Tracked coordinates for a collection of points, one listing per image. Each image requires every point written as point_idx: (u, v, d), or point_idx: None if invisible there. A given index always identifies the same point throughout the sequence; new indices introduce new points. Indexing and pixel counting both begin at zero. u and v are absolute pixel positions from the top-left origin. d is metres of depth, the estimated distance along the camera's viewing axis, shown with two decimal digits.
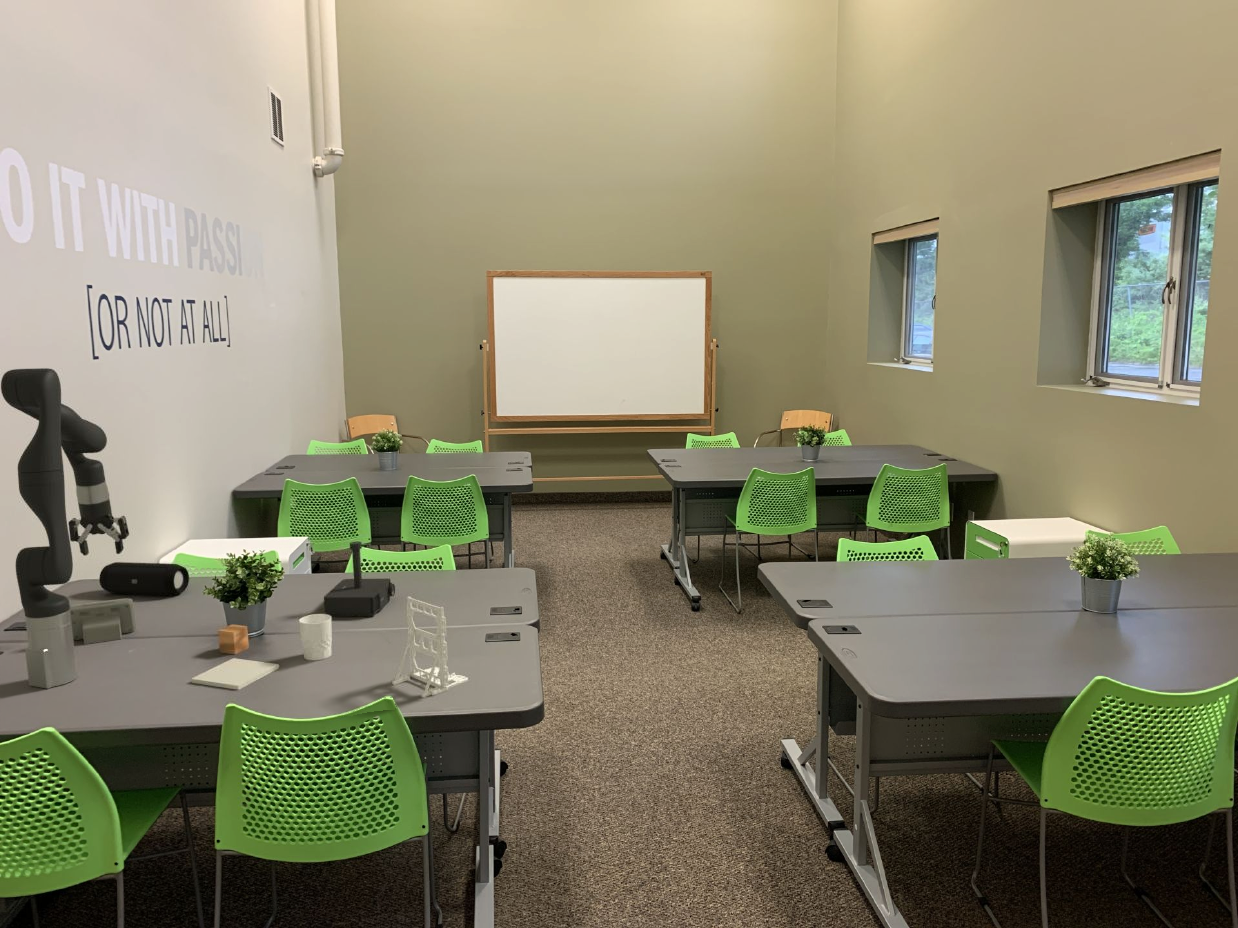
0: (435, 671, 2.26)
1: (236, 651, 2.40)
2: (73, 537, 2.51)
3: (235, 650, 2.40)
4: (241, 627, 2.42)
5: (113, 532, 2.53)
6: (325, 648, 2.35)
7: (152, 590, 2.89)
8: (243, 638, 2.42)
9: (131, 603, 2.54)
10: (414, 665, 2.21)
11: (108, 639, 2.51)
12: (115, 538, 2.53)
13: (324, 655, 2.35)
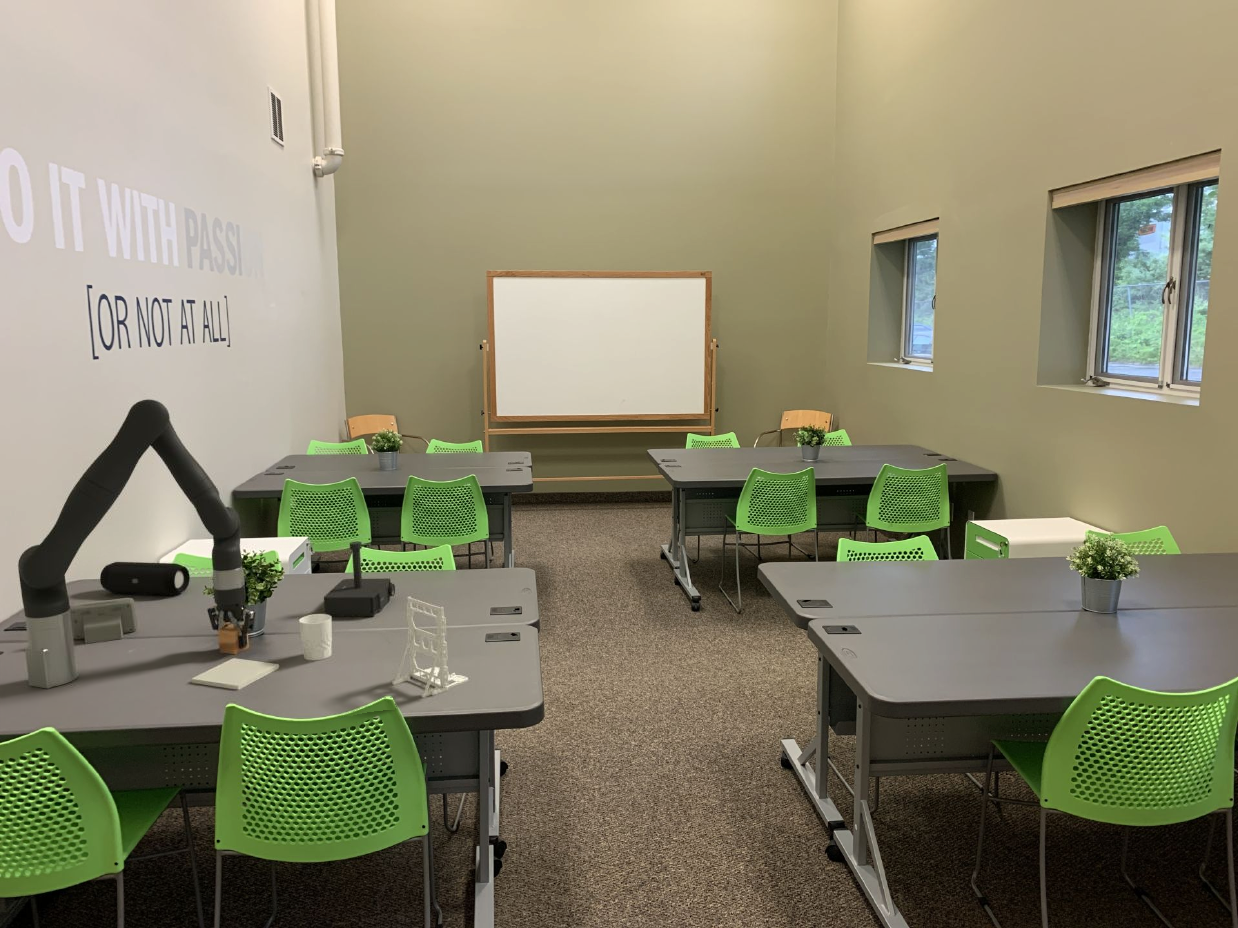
0: (435, 671, 2.26)
1: (236, 651, 2.40)
2: (214, 625, 2.42)
3: (235, 650, 2.40)
4: (241, 627, 2.42)
5: (239, 625, 2.40)
6: (325, 648, 2.35)
7: (153, 589, 2.89)
8: None
9: (132, 603, 2.54)
10: (414, 665, 2.21)
11: (109, 638, 2.51)
12: (238, 631, 2.40)
13: (324, 655, 2.35)
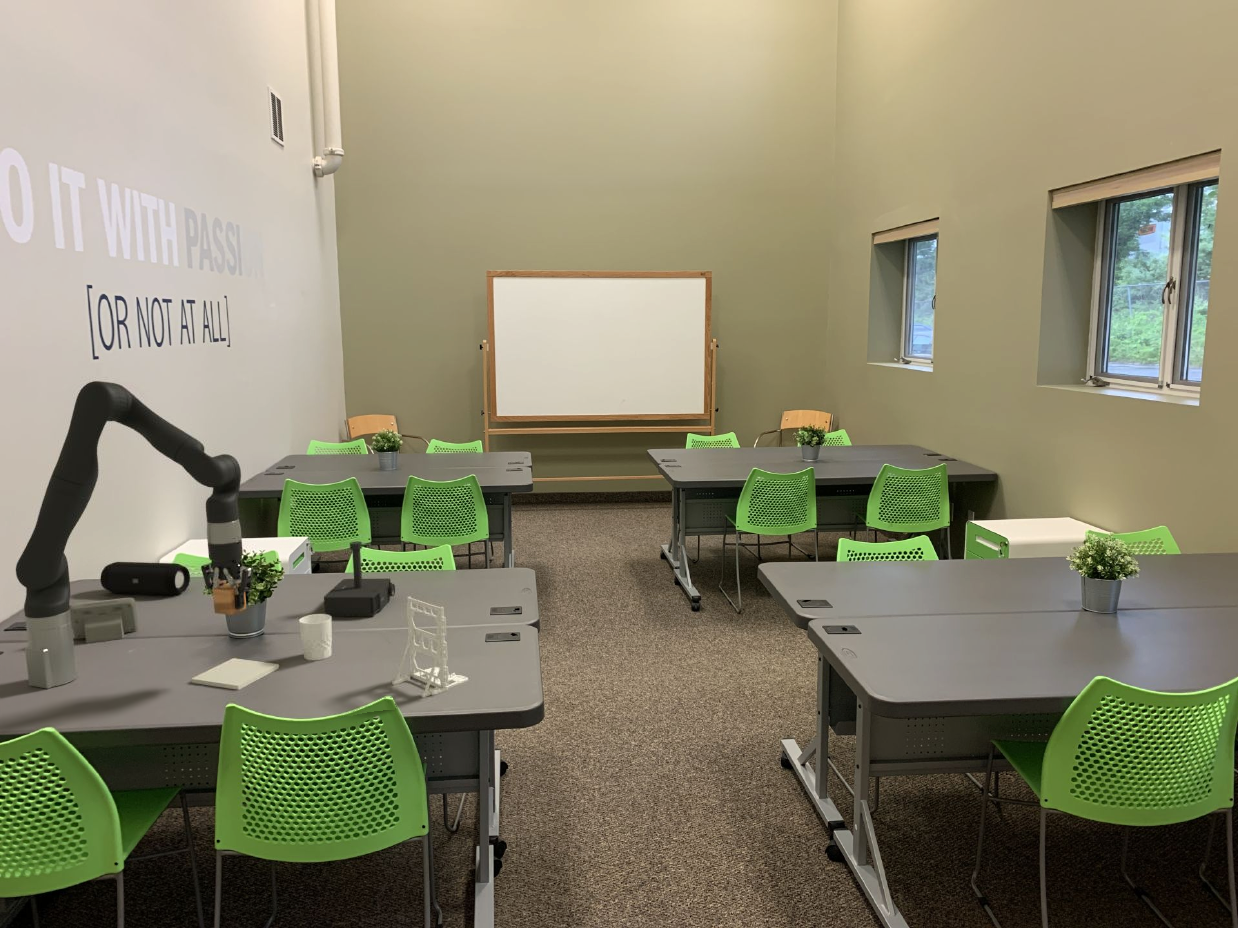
0: (435, 671, 2.26)
1: (232, 611, 2.20)
2: (209, 584, 2.22)
3: (231, 610, 2.20)
4: (238, 586, 2.23)
5: (235, 583, 2.20)
6: (325, 648, 2.35)
7: (153, 589, 2.89)
8: None
9: (133, 602, 2.54)
10: (414, 665, 2.21)
11: (110, 638, 2.51)
12: (234, 590, 2.20)
13: (324, 655, 2.35)
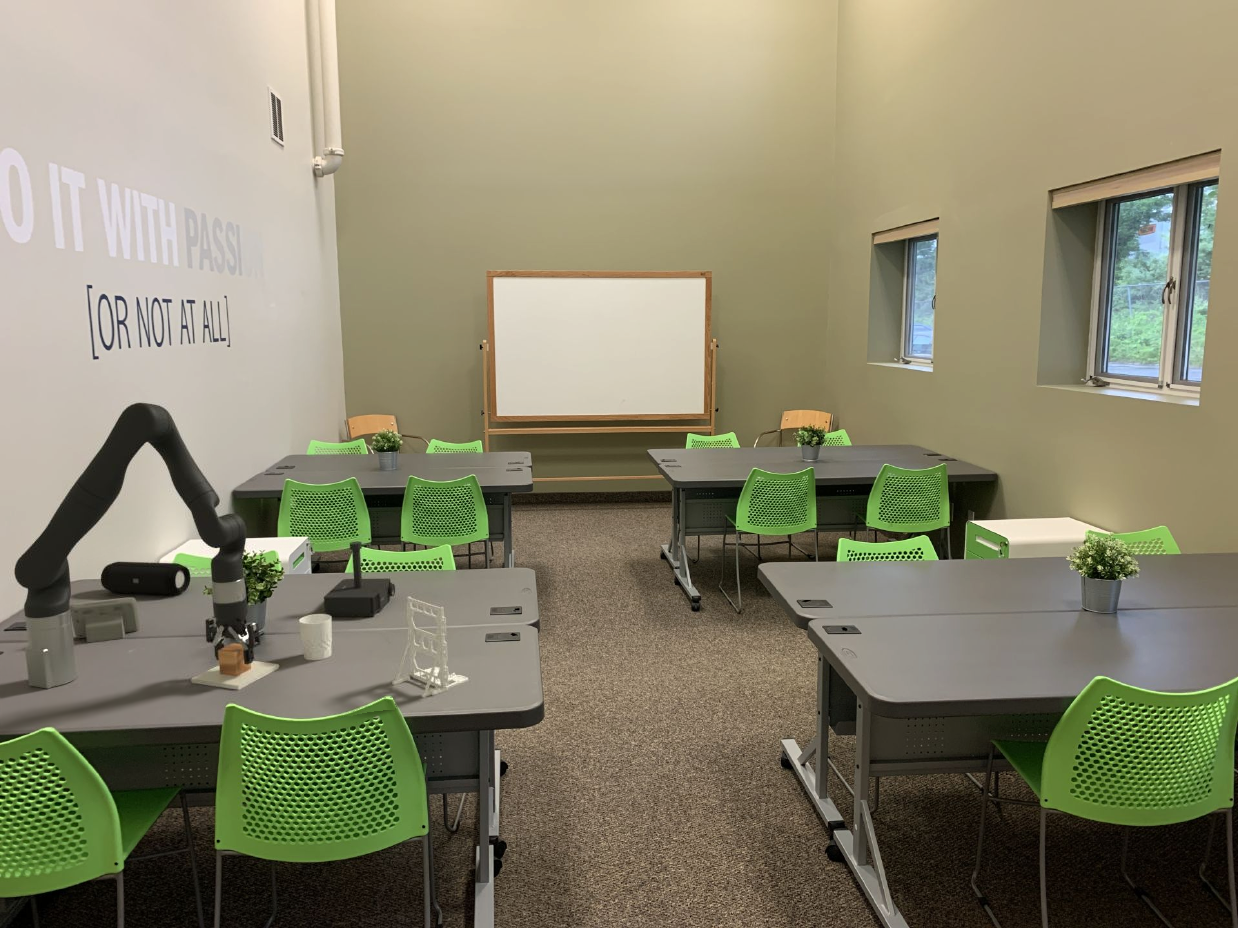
0: (435, 671, 2.26)
1: (237, 672, 2.22)
2: (209, 638, 2.25)
3: (237, 672, 2.22)
4: None
5: (243, 638, 2.22)
6: (325, 648, 2.35)
7: (154, 589, 2.89)
8: None
9: (134, 602, 2.54)
10: (414, 665, 2.21)
11: (111, 638, 2.51)
12: (244, 646, 2.21)
13: (324, 655, 2.35)
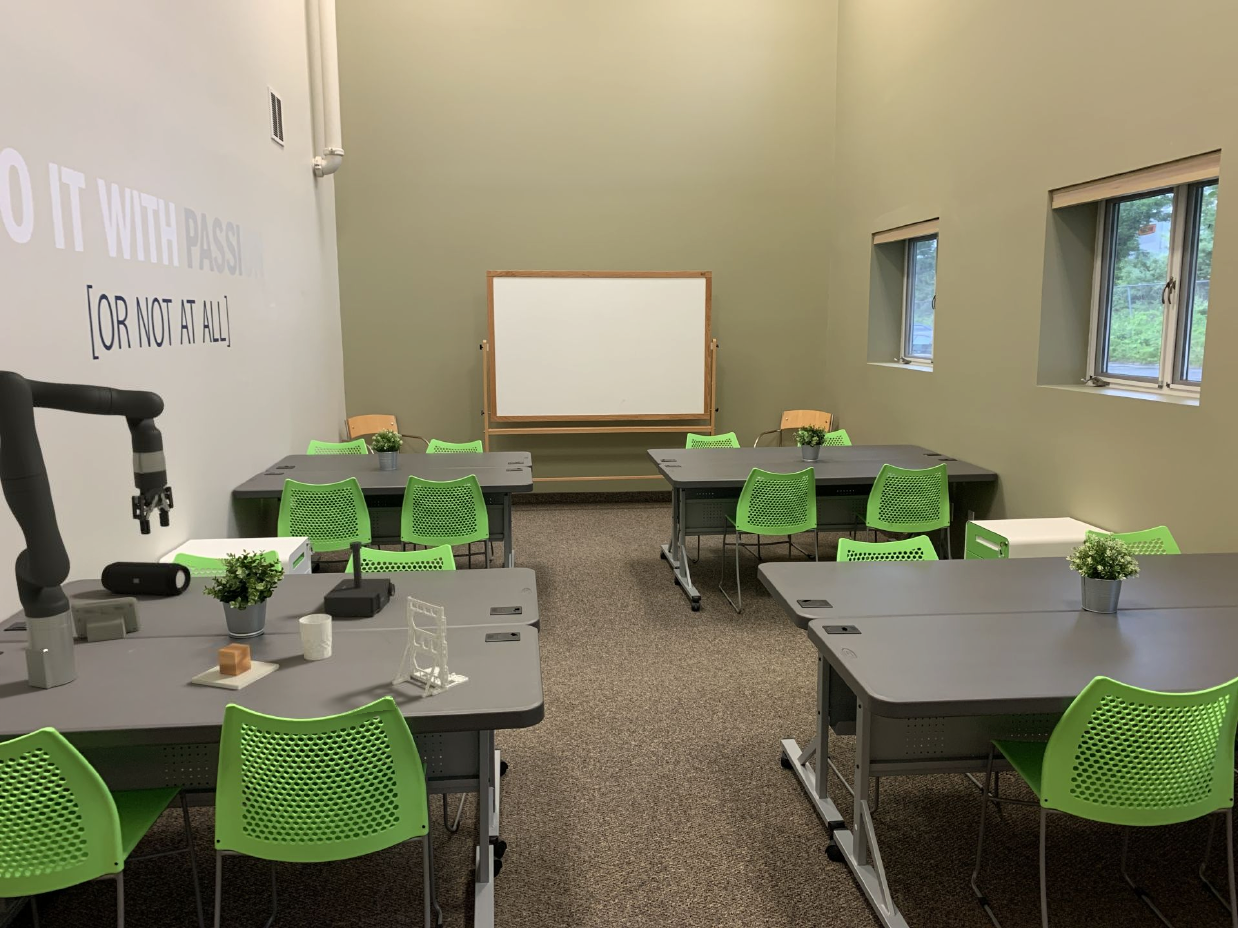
0: (435, 671, 2.26)
1: (237, 672, 2.22)
2: None
3: (237, 672, 2.22)
4: (243, 646, 2.25)
5: None
6: (325, 648, 2.35)
7: (154, 589, 2.89)
8: (245, 658, 2.25)
9: (135, 602, 2.54)
10: (414, 665, 2.21)
11: (111, 637, 2.52)
12: None
13: (324, 655, 2.35)
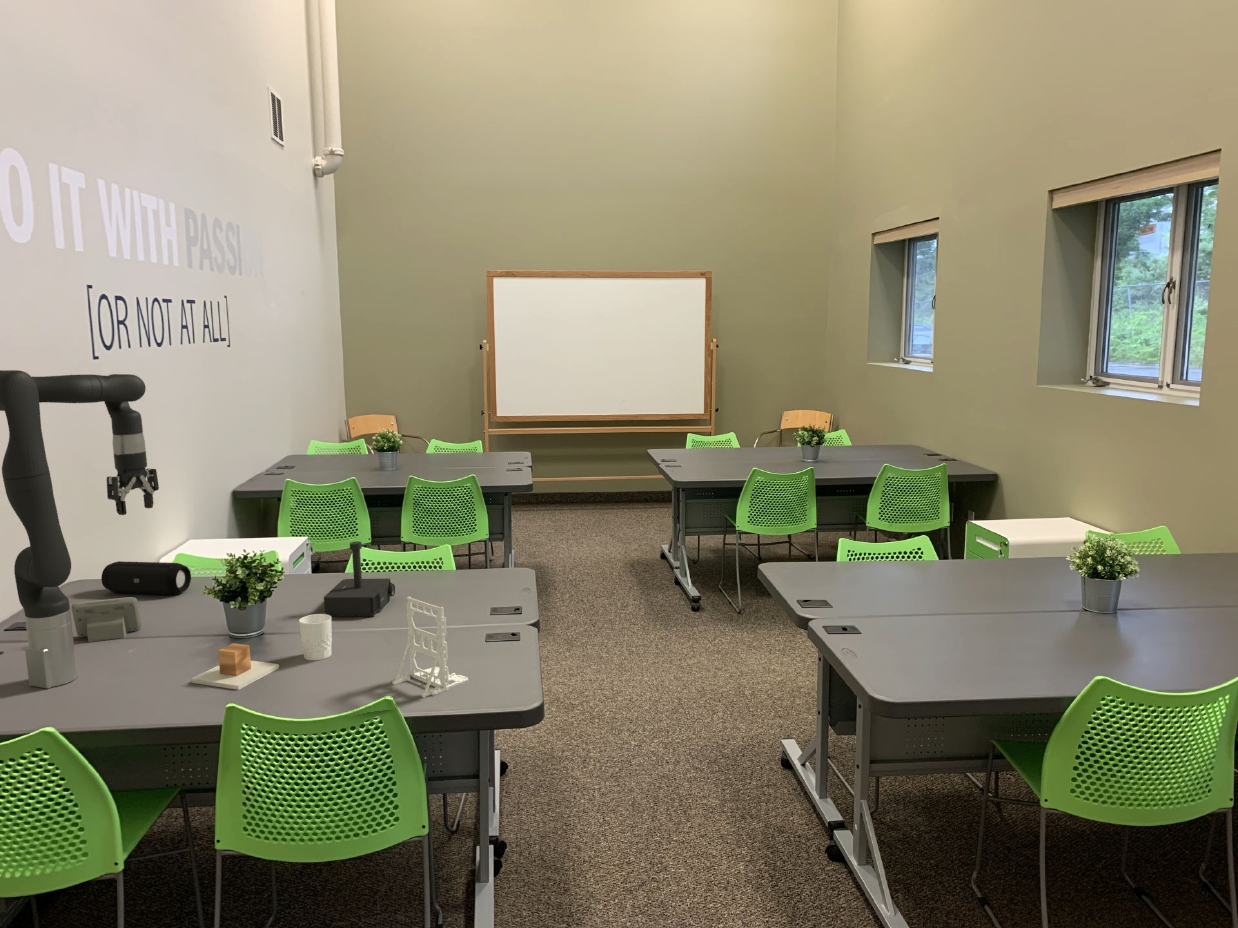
0: (435, 671, 2.26)
1: (237, 672, 2.22)
2: None
3: (237, 672, 2.22)
4: (243, 646, 2.25)
5: (118, 490, 2.39)
6: (325, 648, 2.35)
7: (155, 589, 2.90)
8: (245, 658, 2.25)
9: (135, 602, 2.54)
10: (414, 665, 2.21)
11: (112, 637, 2.52)
12: None
13: (324, 655, 2.35)
